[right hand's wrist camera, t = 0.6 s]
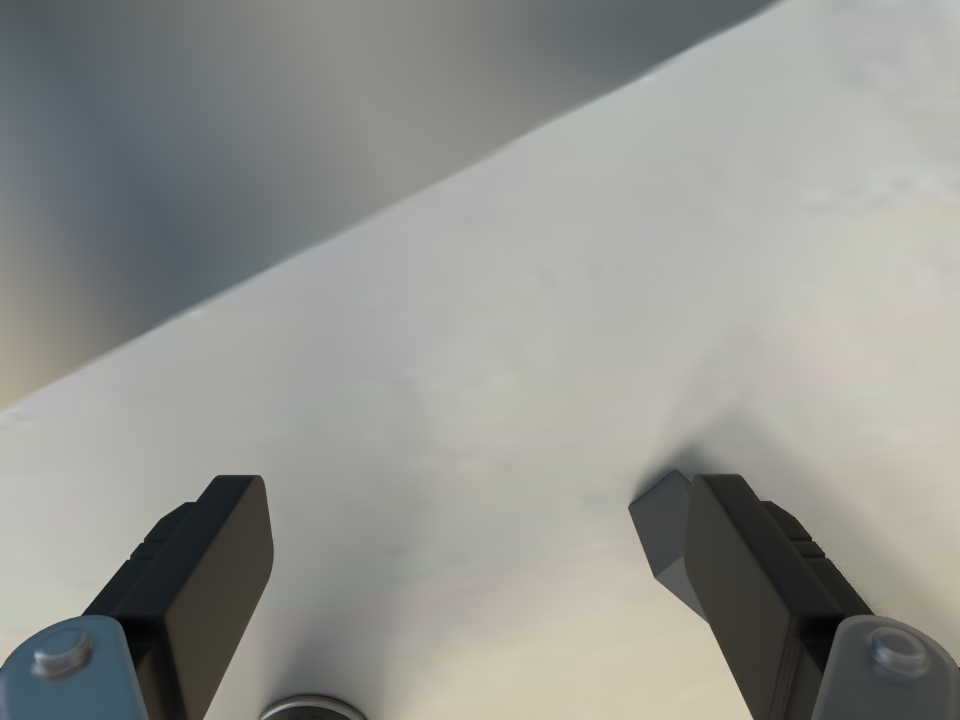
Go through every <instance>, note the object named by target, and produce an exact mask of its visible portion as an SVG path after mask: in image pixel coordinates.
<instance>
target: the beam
mask: <svg viewBox="0 0 960 720" xmlns="http://www.w3.org/2000/svg"><path fill="white" fill-rule="evenodd" d="M691 487H692V484H691V483H690V482H689V481H688V480H687V479H686V478H685V477H684V476H683V475H682V474H681V473H679V472H678V471H677V470H676V469H675V470H674V471H673V472H671V473H670V474H669V475H668V476H666V477H665V478H664V479H663V480H662V481H660V482H659V483H658V484H657V485H655V486H654V487H653V488H652V489H651V490H649V491H648V492H647V493H646V494H645V495H643V496H642V497H641V498H640V499H638V500H637V501H636V502H635V503H634V504H632V505H631V506H630V507H629V508H628V509H629V512H630V514H631V517H632V520H633V522H634V525H635V528H636V530H637V533H638V536H639V538H640V541H641V544H642V546H643V549H644V552H645V554H646V557H647V560H648V562H649V565H650V568H651V570H652V573H653V576H654V578H655V579H656V580H657V581H659V582H660V583H661V584H662V585H663V586H665V587H666V588H667V589H668V590H669V591H671V592H672V593H673V594H674V595H675V596H677V597H678V598H679V599H680V600H681V601H683V602H684V603H685V604H686V605H687V606H688V607H690V608H691V609H692V610H693V611H694V612H696V613H697V614H698V615H699V616H700V617H702V618H703V619H704V620H705V621H706V622H708V620H707V618H706V616H705V614H704V612H703V610H702V608H701V605H700V603H699V601H698V599H697V597H696V595H695V592H694V590H693V588H692V586H691V584H690V582H689V579H688V577H687V574H686V570H685V565H684V556H683V545H684V537H685V530H686V522H687V515H688V508H689V501H690V494H691Z"/></svg>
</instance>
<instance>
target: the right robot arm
mask: <svg viewBox="0 0 960 720" xmlns="http://www.w3.org/2000/svg"><path fill="white" fill-rule="evenodd" d="M273 556H274V548H273V539H272V532H271V525H270V518H269V510H268V503H267V496H266V489H265V484H264V481H263V479H262V477H261V476H260V475H218V476H216V477H215V478H214V479H213V480H212V482H211V483H210V484H209V486H208V487H207V488H206V489H205V491H204V492H203V493H202V495H201V496H200V497H199V499H198V500H197V501H196V502H185V503H184V504H182V505H181V506H179V507H178V508H176V509H175V510H173V511H172V512H170V513H169V514H167V515H166V516H164V517H163V518H161V519H160V520H159V521H158V523H157V524H156V525H155V526H154V528H153V529H152V530H151V531H150V532H149V534H148V535H147V536H146V537H145V538H144V543H140V545H139V546H138V547H137V548H136V549H135V551H134V552H133V553H132V554H131V555H130V560H126V562H125V563H124V564H123V565H122V566H121V568H120V569H119V570H118V571H117V572H116V574H115V575H114V576H113V577H112V579H111V580H110V581H109V582H108V583H107V585H106V586H105V587H104V588H103V590H102V591H101V592H100V593H99V594H98V596H97V597H96V598H95V599H94V600H93V602H92V603H91V604H90V605H89V607H88V608H87V609H86V610H85V611H84V613H83V614H82V615H81V616H79V617H75V618H70V619H67V620H64V621H61V622H58V623H56V624H54V625H51V626H49V627H47V628H45V629H43V630H41V631H39V632H38V633H36V634H35V635H33V636H31V637H30V638H28V639H27V640H26V641H25V642H23V643H22V644H21V645H20V646H18V647H17V648H16V649H15V650H14V651H13V652H12V653H11V655H10V656H9V657H8V658H7V659H6V661H5V663H4V664H3V666H2V668H0V720H203V719H204V717H205V714H206V712H207V710H208V708H209V706H210V704H211V702H212V700H213V697H214V695H215V693H216V691H217V689H218V687H219V685H220V683H221V680H222V678H223V676H224V674H225V672H226V670H227V668H228V666H229V663H230V661H231V659H232V657H233V655H234V653H235V651H236V649H237V646H238V644H239V642H240V640H241V638H242V636H243V634H244V632H245V629H246V627H247V625H248V623H249V621H250V619H251V617H252V615H253V612H254V610H255V608H256V606H257V604H258V602H259V600H260V597H261V595H262V593H263V591H264V589H265V587H266V585H267V583H268V580H269V578H270V574H271V570H272V565H273ZM683 556H684V565H685V570H686V574H687V577H688V579H689V582H690V584H691V586H692V588H693V590H694V592H695V595H696V597H697V599H698V601H699V603H700V605H701V608H702V610H703V612H704V614H705V616H706V618H707V620H708V623H709V625H710V627H711V629H712V631H713V633H714V636H715V638H716V640H717V642H718V644H719V646H720V648H721V651H722V653H723V655H724V657H725V659H726V661H727V664H728V666H729V668H730V670H731V672H732V674H733V676H734V679H735V681H736V683H737V685H738V687H739V689H740V691H741V694H742V696H743V698H744V700H745V702H746V704H747V707H748V709H749V711H750V713H751V715H752V717H753V719H754V720H960V668H959V667H958V666H957V664H956V663H955V661H954V659H953V658H952V657H951V656H950V655H949V653H948V652H947V651H946V650H945V649H944V648H943V647H942V646H940V645H939V644H938V643H937V642H935V641H934V640H933V639H932V638H930V637H929V636H927V635H925V634H924V633H922V632H921V631H919V630H917V629H915V628H913V627H911V626H909V625H906V624H904V623H902V622H899V621H896V620H893V619H890V618H885V617H881V616H875V615H874V613H873V612H872V611H871V610H870V608H869V607H868V606H867V605H866V603H865V602H864V601H863V600H862V599H861V597H860V596H859V595H858V594H857V592H856V591H855V590H854V589H853V588H852V586H851V585H850V584H849V583H848V581H847V580H846V579H845V578H844V577H843V575H842V574H841V573H840V572H839V570H838V569H837V568H836V567H835V565H834V564H833V563H832V562H831V561H830V559H829V558H826V557H825V553H824V552H823V551H822V550H821V548H820V547H819V546H818V545H817V543H816V542H812V537H811V536H810V535H809V534H808V532H807V531H806V530H805V529H804V527H803V526H802V525H801V524H800V523H799V521H798V520H797V519H796V518H795V517H794V516H792V515H791V514H789V513H788V512H786V511H785V510H783V509H782V508H780V507H779V506H777V505H776V504H774V503H773V502H771V501H760V500H759V498H758V497H757V496H756V495H755V493H754V492H753V491H752V489H751V488H750V487H749V485H748V484H747V483H746V481H745V480H744V479H743V477H742V476H740V475H739V474H697V475H696V476H695V477H694V479H693V482H692V487H691V494H690V501H689V508H688V515H687V522H686V530H685V537H684V545H683ZM258 720H365V719H364V718H363V717H362V716H361V715H360V714H359V713H358V712H357V711H356V710H354V709H353V708H351V707H350V706H348V705H346V704H344V703H342V702H339V701H337V700H334V699H330V698H326V697H320V696H297V697H291V698H287V699H284V700H281V701H279V702H277V703H275V704H273V705H272V706H270V707H269V708H268V709H266V710H265V711H264V712H263V713H262V715H261V716H260V718H259V719H258Z"/></svg>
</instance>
